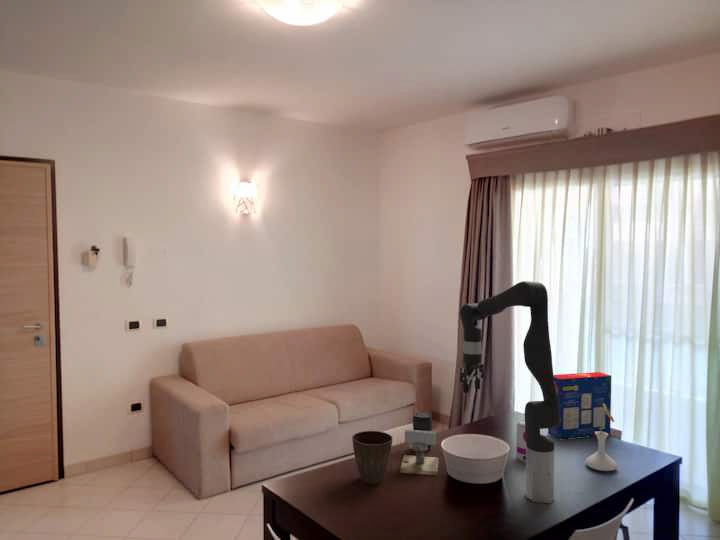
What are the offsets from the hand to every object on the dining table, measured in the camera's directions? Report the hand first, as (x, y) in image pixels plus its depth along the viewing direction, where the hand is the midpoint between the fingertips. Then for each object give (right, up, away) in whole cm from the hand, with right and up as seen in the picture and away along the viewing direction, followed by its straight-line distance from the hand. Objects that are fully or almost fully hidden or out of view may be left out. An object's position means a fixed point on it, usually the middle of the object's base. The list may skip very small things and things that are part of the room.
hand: (471, 390), depth 217 cm
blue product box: (+56, -28, +29) cm, 69 cm away
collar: (-23, -21, -10) cm, 32 cm away
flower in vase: (+49, -28, -9) cm, 58 cm away
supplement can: (+22, -28, -1) cm, 36 cm away
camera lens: (-20, -27, +9) cm, 35 cm away
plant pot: (-42, -28, -23) cm, 55 cm away
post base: (-23, -28, -10) cm, 37 cm away
